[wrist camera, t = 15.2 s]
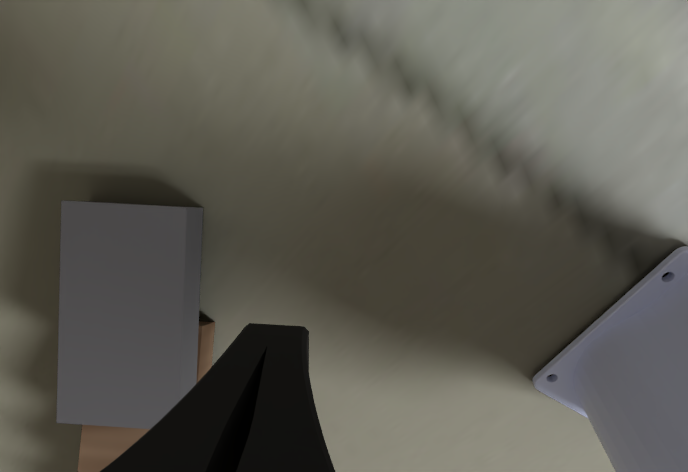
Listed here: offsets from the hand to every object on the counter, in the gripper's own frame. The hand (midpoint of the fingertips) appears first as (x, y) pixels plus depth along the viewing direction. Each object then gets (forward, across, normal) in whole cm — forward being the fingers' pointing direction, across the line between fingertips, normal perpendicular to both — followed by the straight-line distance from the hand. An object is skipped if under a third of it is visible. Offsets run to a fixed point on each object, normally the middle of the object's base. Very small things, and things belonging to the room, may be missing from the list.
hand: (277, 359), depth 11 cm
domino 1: (+10, +8, +1) cm, 12 cm away
